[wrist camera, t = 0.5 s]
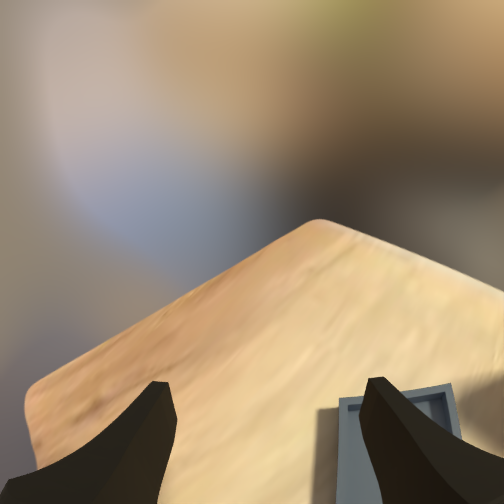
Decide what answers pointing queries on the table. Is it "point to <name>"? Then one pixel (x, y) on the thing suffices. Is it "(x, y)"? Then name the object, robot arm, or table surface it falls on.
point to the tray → (354, 450)
